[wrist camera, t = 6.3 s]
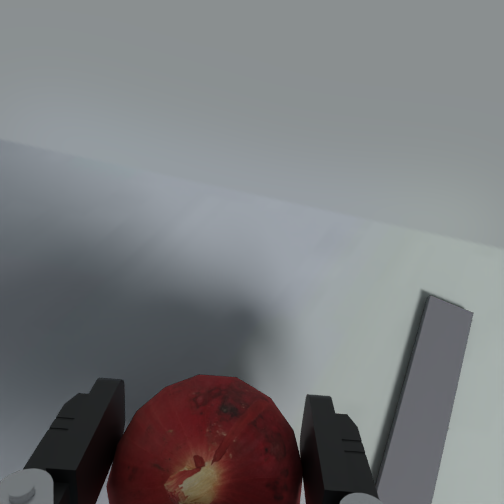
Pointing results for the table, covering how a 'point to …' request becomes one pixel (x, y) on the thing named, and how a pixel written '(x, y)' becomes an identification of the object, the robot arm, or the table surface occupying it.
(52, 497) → the robot arm
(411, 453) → the flat gray rectangular bar
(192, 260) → the table surface
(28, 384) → the table surface
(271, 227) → the table surface
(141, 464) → the onion
